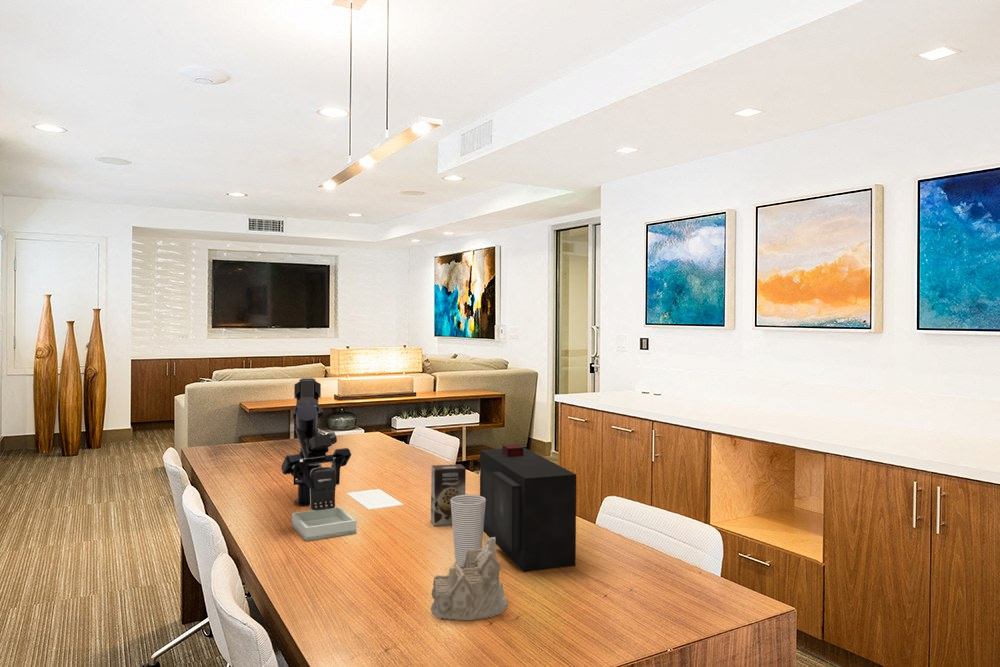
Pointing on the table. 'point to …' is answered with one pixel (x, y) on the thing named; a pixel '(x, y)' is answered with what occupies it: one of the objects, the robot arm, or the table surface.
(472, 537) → the cup
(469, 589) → the ceramic cottage
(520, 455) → the speaker
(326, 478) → the battery charger
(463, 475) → the coffee box
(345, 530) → the tray
